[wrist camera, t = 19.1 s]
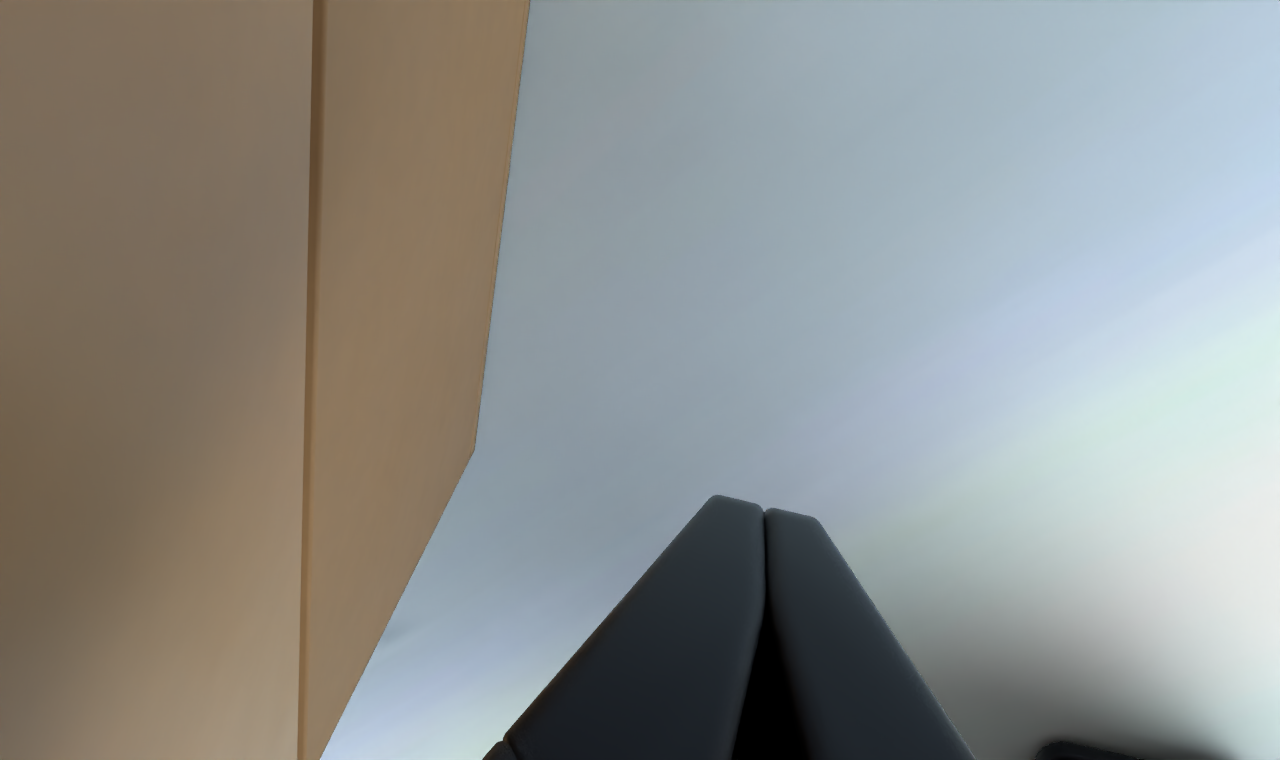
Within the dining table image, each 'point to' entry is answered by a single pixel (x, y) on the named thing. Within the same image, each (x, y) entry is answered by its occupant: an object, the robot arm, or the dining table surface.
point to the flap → (152, 376)
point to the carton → (393, 305)
